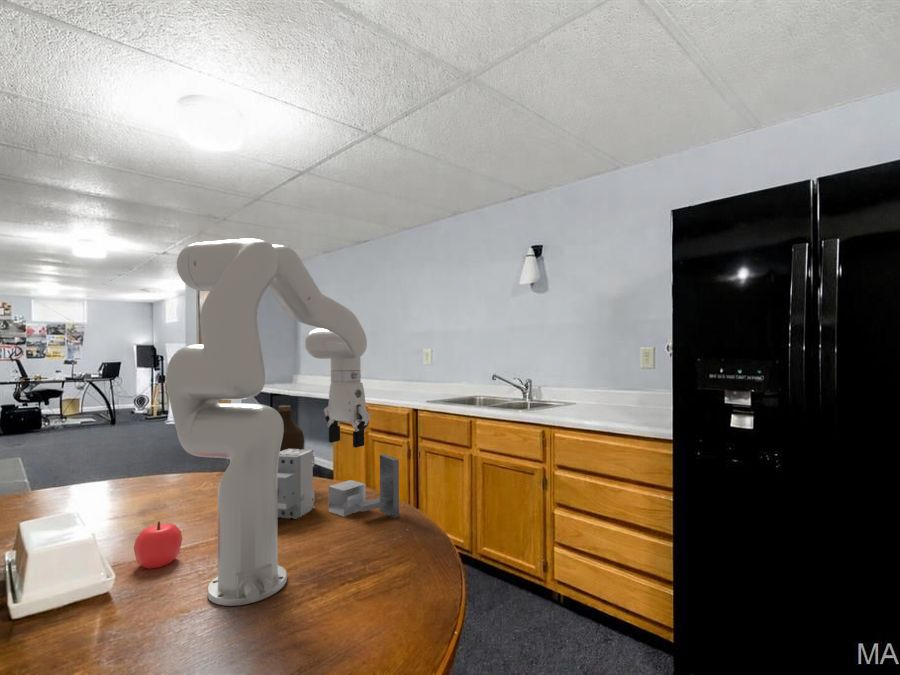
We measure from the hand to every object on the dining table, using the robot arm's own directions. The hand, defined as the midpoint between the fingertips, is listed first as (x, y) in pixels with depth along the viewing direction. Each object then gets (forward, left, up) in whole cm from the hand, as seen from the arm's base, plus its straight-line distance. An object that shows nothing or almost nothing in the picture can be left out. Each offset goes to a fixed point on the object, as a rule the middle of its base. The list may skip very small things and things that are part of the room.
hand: (346, 444), depth 117 cm
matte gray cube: (0, 0, -17) cm, 17 cm away
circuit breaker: (+5, +14, -17) cm, 22 cm away
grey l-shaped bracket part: (-9, -4, -17) cm, 19 cm away
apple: (-5, +41, -17) cm, 45 cm away
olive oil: (+23, +9, -17) cm, 30 cm away
